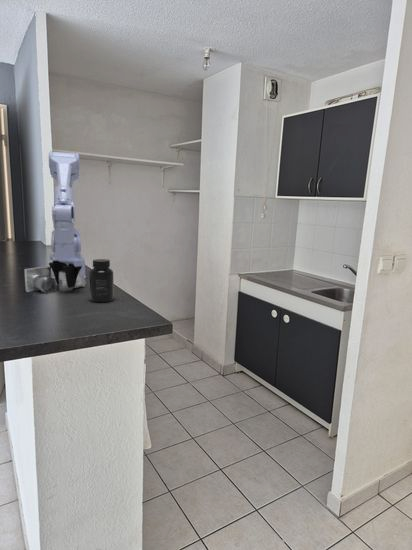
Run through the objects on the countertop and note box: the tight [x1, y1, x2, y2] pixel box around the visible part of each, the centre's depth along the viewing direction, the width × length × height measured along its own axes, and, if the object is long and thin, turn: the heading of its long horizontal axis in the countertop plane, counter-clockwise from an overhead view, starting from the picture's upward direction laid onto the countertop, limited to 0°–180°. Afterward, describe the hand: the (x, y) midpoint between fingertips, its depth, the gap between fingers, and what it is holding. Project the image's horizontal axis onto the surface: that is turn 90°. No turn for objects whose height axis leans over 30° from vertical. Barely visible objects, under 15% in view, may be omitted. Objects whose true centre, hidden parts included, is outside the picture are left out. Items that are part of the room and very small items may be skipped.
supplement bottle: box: [89, 258, 115, 303], centre depth 111 cm, size 7×7×12 cm
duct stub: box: [24, 265, 57, 294], centre depth 117 cm, size 6×8×7 cm
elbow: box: [58, 270, 86, 292], centre depth 122 cm, size 8×4×6 cm, turn 143°
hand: (65, 285), depth 121 cm, fingers open, 6 cm apart
